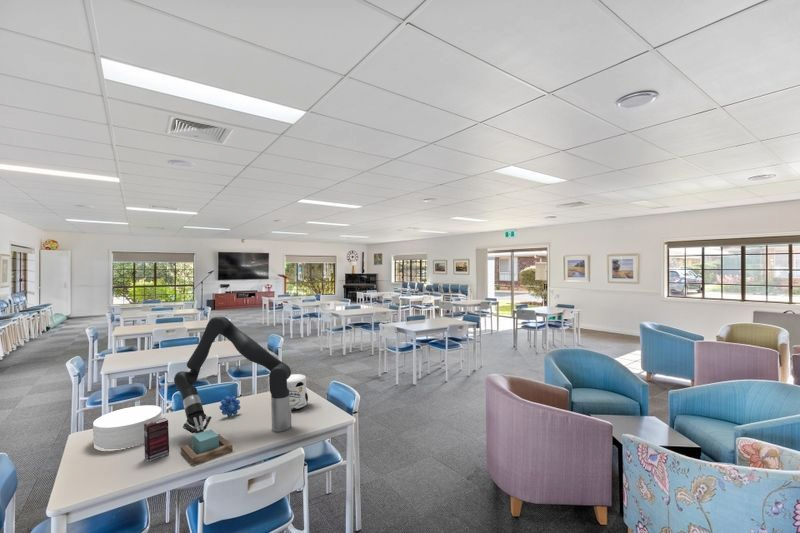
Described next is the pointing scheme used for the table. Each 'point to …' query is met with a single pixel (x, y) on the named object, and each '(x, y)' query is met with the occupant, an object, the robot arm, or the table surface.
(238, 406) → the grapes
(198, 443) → the teal block
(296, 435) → the table surface
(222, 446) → the walnut bay
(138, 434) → the plate stack
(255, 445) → the table surface
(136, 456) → the table surface
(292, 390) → the milk container
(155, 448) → the supplement box
